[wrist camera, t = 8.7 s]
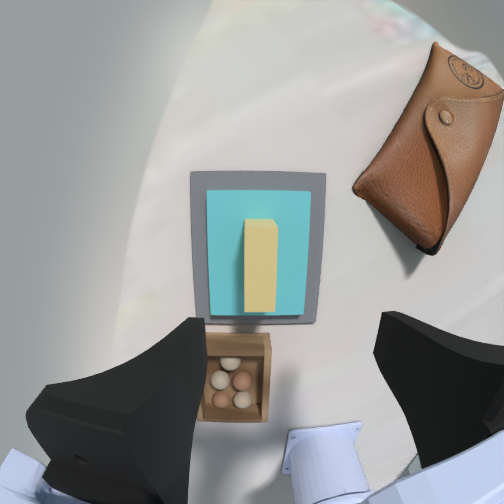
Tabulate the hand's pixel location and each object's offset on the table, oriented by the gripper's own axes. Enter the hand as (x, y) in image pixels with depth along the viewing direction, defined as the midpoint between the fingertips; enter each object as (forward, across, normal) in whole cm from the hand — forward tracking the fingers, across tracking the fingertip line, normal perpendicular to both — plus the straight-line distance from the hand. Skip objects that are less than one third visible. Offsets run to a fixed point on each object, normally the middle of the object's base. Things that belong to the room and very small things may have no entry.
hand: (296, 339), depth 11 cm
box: (+10, +3, +10) cm, 14 cm away
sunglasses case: (+10, -13, -10) cm, 20 cm away
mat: (+10, +1, -1) cm, 10 cm away
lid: (+10, +1, -1) cm, 10 cm away
